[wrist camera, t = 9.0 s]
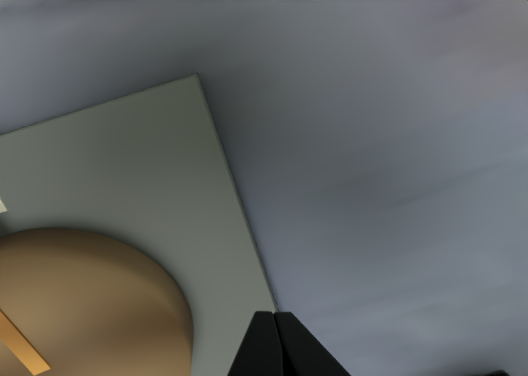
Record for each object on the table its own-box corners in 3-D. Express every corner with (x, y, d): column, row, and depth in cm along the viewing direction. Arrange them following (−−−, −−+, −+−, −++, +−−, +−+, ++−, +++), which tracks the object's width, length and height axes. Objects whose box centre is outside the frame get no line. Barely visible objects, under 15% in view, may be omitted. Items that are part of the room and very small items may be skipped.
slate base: (304, 387, 24) (309, 409, 23) (5, 478, 24) (-10, 507, 23) (189, 50, 16) (185, 50, 15) (-250, 186, 17) (-296, 200, 15)
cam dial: (232, 372, 21) (236, 498, 15) (37, 452, 21) (-31, 603, 16) (42, 68, 14) (-77, 86, 9) (-227, 194, 15) (-505, 288, 9)
